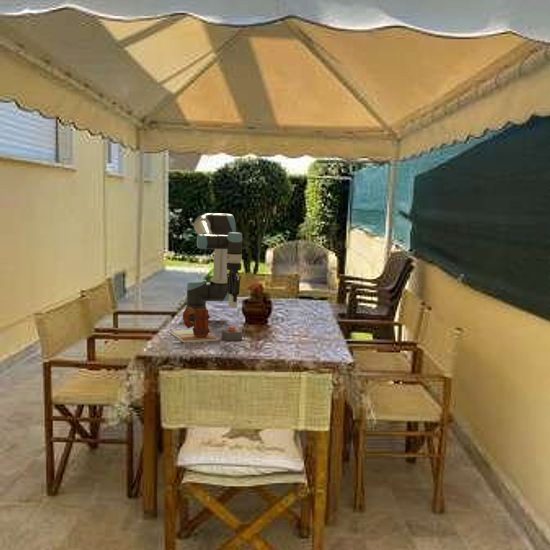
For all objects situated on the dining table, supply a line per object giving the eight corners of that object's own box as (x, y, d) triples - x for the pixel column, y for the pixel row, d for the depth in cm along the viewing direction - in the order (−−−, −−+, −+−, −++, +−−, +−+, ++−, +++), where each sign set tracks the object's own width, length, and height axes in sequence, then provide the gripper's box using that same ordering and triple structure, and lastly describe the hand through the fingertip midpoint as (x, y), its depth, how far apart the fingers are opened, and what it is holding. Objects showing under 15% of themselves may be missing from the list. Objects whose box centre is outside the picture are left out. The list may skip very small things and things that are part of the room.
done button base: (221, 337, 334) (221, 329, 333) (235, 336, 337) (236, 329, 337) (227, 340, 327) (227, 332, 326) (241, 339, 330) (241, 331, 330)
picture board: (169, 332, 340) (169, 330, 340) (201, 330, 348) (201, 328, 348) (183, 342, 317) (183, 340, 317) (218, 340, 325) (218, 338, 325)
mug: (212, 335, 330) (213, 307, 329) (206, 338, 322) (207, 309, 321) (186, 333, 334) (186, 305, 332) (180, 336, 326) (180, 307, 324)
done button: (227, 333, 332) (227, 326, 332) (233, 332, 334) (233, 326, 334) (229, 334, 329) (230, 327, 329) (236, 334, 331) (236, 327, 330)
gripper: (221, 260, 333) (220, 304, 336) (233, 263, 319) (231, 310, 321) (234, 260, 336) (233, 304, 339) (247, 263, 322) (245, 309, 324)
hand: (232, 307), depth 330 cm, fingers open, 3 cm apart
